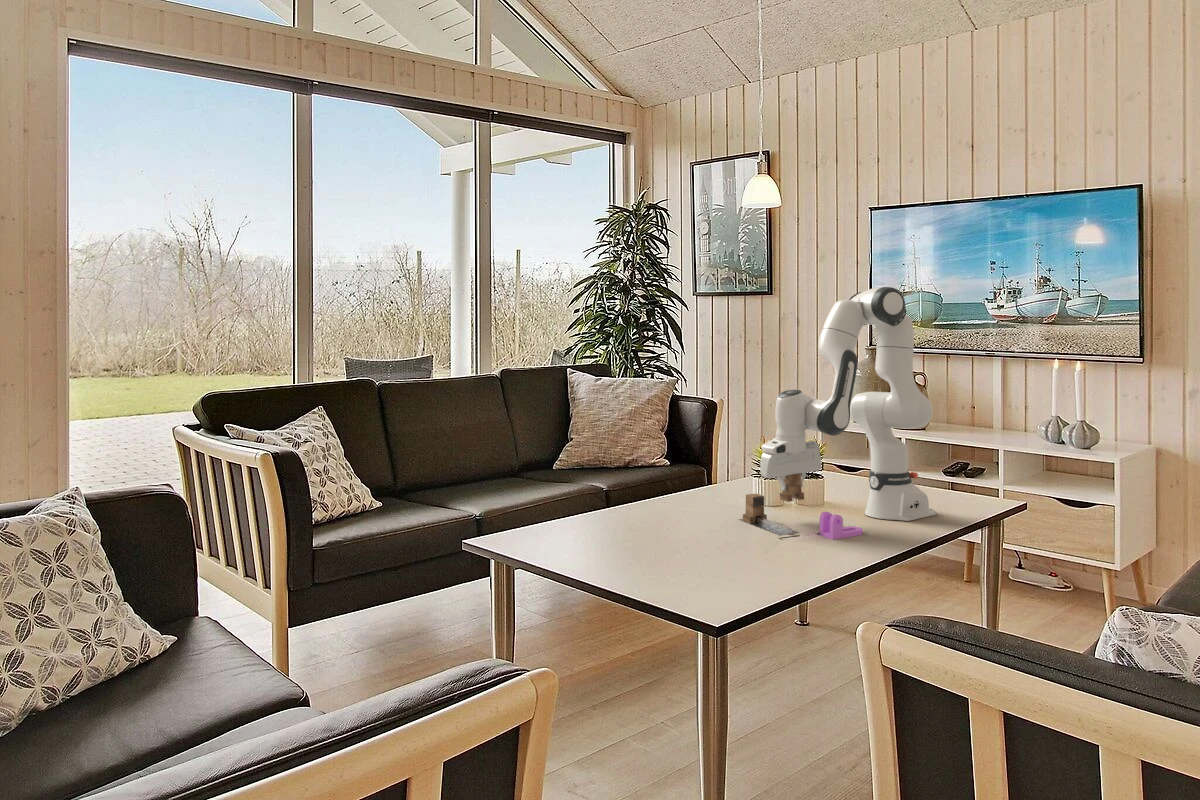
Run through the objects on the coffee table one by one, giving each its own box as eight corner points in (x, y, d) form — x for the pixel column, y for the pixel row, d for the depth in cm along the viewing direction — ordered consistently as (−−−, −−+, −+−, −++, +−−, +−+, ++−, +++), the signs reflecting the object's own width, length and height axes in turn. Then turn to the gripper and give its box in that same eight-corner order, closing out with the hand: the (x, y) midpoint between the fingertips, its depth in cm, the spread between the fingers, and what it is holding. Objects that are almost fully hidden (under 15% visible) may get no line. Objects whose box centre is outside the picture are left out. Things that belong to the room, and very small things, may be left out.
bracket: (832, 540, 253) (833, 516, 252) (819, 535, 258) (819, 512, 257) (866, 534, 259) (867, 510, 259) (852, 530, 264) (853, 507, 263)
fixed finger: (759, 518, 275) (759, 493, 275) (768, 521, 271) (768, 495, 270) (742, 520, 273) (742, 494, 272) (751, 523, 269) (751, 497, 268)
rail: (757, 520, 277) (757, 512, 277) (799, 536, 257) (799, 527, 257) (737, 522, 275) (737, 514, 274) (779, 538, 255) (779, 530, 254)
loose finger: (794, 496, 275) (794, 470, 274) (804, 499, 270) (803, 473, 269) (778, 498, 272) (777, 473, 271) (787, 502, 268) (787, 476, 267)
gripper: (812, 438, 276) (813, 482, 278) (756, 446, 268) (758, 491, 270) (825, 441, 270) (826, 485, 272) (768, 449, 262) (770, 495, 264)
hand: (791, 488), depth 271 cm, fingers closed on loose finger, 4 cm apart
